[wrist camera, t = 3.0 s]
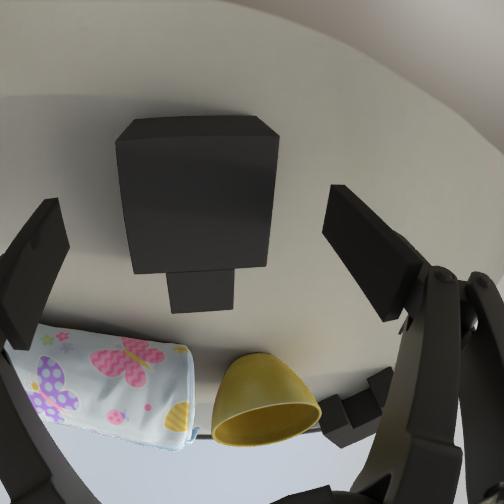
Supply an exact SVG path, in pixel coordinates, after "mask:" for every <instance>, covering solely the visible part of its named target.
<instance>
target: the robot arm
mask: <svg viewBox="0 0 504 504" xmlns="http://www.w3.org/2000/svg"><path fill="white" fill-rule="evenodd" d="M322 233H323V235H324V236H325V237H326V239H327V240H328V242H329V243H330V244H331V246H332V247H333V249H334V250H335V252H336V253H337V254H338V256H339V257H340V259H341V260H342V262H343V263H344V264H345V266H346V267H347V269H348V270H349V272H350V273H351V275H352V276H353V278H354V279H355V280H356V282H357V283H358V285H359V286H360V288H361V289H362V291H363V292H364V294H365V295H366V297H367V298H368V300H369V301H370V303H371V305H372V306H373V308H374V309H375V311H376V312H377V314H378V315H379V317H380V318H381V320H382V322H386V321H391V320H396V319H398V318H399V316H400V314H401V312H402V310H403V308H405V310H406V311H407V312H408V316H407V318H406V320H405V322H404V324H403V325H402V327H401V329H400V331H399V333H398V334H399V335H401V333H402V332H403V334H402V339H401V344H400V348H399V353H398V357H397V362H396V366H395V370H394V374H393V378H392V382H391V386H390V389H389V393H388V397H387V400H386V404H385V407H384V410H383V414H382V417H381V420H380V423H379V426H378V430H377V433H376V436H375V439H374V441H373V445H372V447H371V450H370V453H369V455H368V458H367V461H366V463H365V465H364V468H363V469H362V471H361V473H360V474H359V475H358V477H357V478H356V480H355V482H354V483H353V485H352V487H351V489H350V491H349V492H347V491H331V488H330V485H326V486H323V487H320V488H316V489H312V490H309V491H305V492H300V493H296V494H292V495H288V496H286V497H284V498H281V499H280V500H277V501H275V502H273V503H270V504H453V502H454V498H455V494H456V489H457V485H458V480H459V476H460V470H461V465H462V455H463V452H462V450H461V448H460V447H458V446H455V445H454V433H455V426H456V418H457V409H458V399H459V401H460V409H461V416H462V426H463V436H464V450H465V470H466V471H465V472H466V491H467V498H468V504H504V302H503V300H502V298H501V296H500V294H499V292H498V290H497V288H496V286H495V284H494V282H493V281H492V280H491V279H490V278H489V276H487V275H485V274H484V273H480V272H475V271H474V272H472V273H471V275H470V277H469V279H468V281H461V280H457V277H456V276H455V275H454V274H453V273H452V272H451V271H450V270H448V269H446V268H444V267H441V266H431V265H430V264H429V262H428V261H427V260H426V259H425V258H424V257H423V256H422V255H421V254H420V253H419V252H418V251H417V250H415V248H414V247H413V246H412V245H411V244H410V243H409V242H408V241H407V240H406V239H405V238H404V237H403V236H402V235H400V234H399V233H397V232H396V231H394V230H392V229H391V228H390V227H389V226H388V225H387V224H386V223H385V222H384V221H383V220H382V219H381V218H380V217H379V216H378V215H377V214H375V213H374V212H373V211H372V210H371V209H370V208H369V207H368V206H367V205H366V204H365V203H364V202H363V201H362V200H361V199H360V198H358V197H357V196H356V195H355V194H354V193H353V192H352V191H351V190H350V189H349V188H347V187H346V186H345V185H332V184H331V187H330V193H329V198H328V204H327V209H326V214H325V219H324V224H323V230H322ZM69 248H70V245H69V242H68V238H67V234H66V230H65V226H64V222H63V218H62V214H61V209H60V205H59V200H58V198H50V199H44V201H43V202H42V203H41V204H40V206H39V207H38V208H37V209H36V211H35V212H34V213H33V214H32V216H31V217H30V218H29V220H28V221H27V222H26V224H25V225H24V226H23V228H22V229H21V230H20V232H19V233H18V235H17V236H16V237H15V239H14V240H13V242H12V243H11V245H10V246H9V247H8V249H7V250H6V252H5V253H4V254H2V255H1V256H0V480H1V482H2V483H3V485H4V487H5V489H6V491H7V493H8V495H9V497H10V499H11V503H10V504H102V503H101V502H99V500H97V498H96V497H95V496H94V495H93V494H92V492H91V491H90V490H89V489H88V488H87V486H86V485H85V484H84V483H83V481H82V480H81V479H80V477H79V476H78V475H77V473H76V472H75V471H74V470H73V468H72V467H71V465H70V464H69V463H68V461H67V460H66V458H65V457H64V455H63V454H62V452H61V451H60V449H59V448H58V446H57V445H56V443H55V442H54V440H53V439H52V437H51V436H50V434H49V432H48V431H47V429H46V428H45V426H44V424H43V422H42V421H41V419H40V417H39V415H38V414H37V412H36V410H35V408H34V407H33V405H32V403H31V401H30V399H29V397H28V395H27V393H26V391H25V389H24V387H23V385H22V383H21V381H20V379H19V377H18V375H17V373H16V371H15V368H14V366H13V364H12V362H11V359H10V357H9V355H8V353H7V351H6V350H5V348H4V345H5V342H6V340H8V342H9V343H10V345H11V346H12V348H13V350H24V351H29V350H30V347H31V344H32V341H33V338H34V335H35V332H36V329H37V326H38V323H39V320H40V318H41V315H42V312H43V310H44V307H45V304H46V302H47V299H48V297H49V294H50V292H51V289H52V287H53V284H54V282H55V279H56V277H57V275H58V272H59V270H60V268H61V266H62V263H63V261H64V259H65V257H66V255H67V253H68V250H69ZM477 320H478V326H477V329H476V330H475V327H474V325H475V323H476V322H477Z"/></svg>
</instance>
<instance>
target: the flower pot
mask: <svg viewBox="0 0 504 504" xmlns="http://www.w3.org/2000/svg"><path fill="white" fill-rule="evenodd" d="M321 414H322V412H321V409H320V407H319V405H318V403H317V401H316V400H315V398H314V396H313V395H312V393H311V392H310V391H309V389H308V388H307V386H306V385H305V384H304V383H303V381H302V380H301V379H300V378H299V377H298V376H297V375H296V374H295V373H294V372H293V371H292V370H291V369H290V368H289V367H288V366H287V365H285V364H284V363H283V362H281V361H280V360H279V359H277V358H276V357H274V356H272V355H270V354H265V353H254V354H249V355H245V356H243V357H240V358H238V359H237V360H235V361H234V362H233V363H232V364H231V365H230V367H229V368H228V370H227V372H226V373H225V375H224V377H223V379H222V382H221V384H220V387H219V389H218V392H217V396H216V399H215V403H214V408H213V415H212V427H211V433H212V437H213V439H214V440H215V441H217V442H219V443H221V444H224V445H228V446H236V447H251V446H261V445H268V444H272V443H276V442H280V441H284V440H287V439H289V438H292V437H294V436H297V435H299V434H301V433H303V432H305V431H306V430H308V429H310V428H311V427H312V426H313V425H315V424H316V423H317V422H318V420H319V419H320V417H321Z"/></svg>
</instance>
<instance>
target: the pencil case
mask: <svg viewBox="0 0 504 504" xmlns="http://www.w3.org/2000/svg"><path fill="white" fill-rule="evenodd" d="M4 348H5V350H6V351H7V353H8V355H9V357H10V359H11V362H12V364H13V366H14V368H15V371H16V373H17V375H18V377H19V379H20V381H21V383H22V385H23V387H24V389H25V391H26V393H27V395H28V397H29V399H30V401H31V403H32V405H33V407H34V408H35V410H36V412H37V414H38V415H39V417H40V419H41V421H48V422H55V423H60V424H65V425H69V426H73V427H77V428H80V429H84V430H88V431H91V432H95V433H99V434H103V435H108V436H111V437H115V438H119V439H123V440H126V441H129V442H133V443H136V444H139V445H143V446H148V447H155V448H160V449H165V450H170V451H179V450H181V449H182V448H183V446H184V445H189V444H191V443H192V442H193V441H194V440H195V438H196V436H197V434H198V431H199V430H200V427H196V428H195V429H194V430H193V422H194V415H195V379H194V363H193V357H192V354H191V352H190V350H188V348H187V346H186V345H179V344H174V343H159V342H154V341H146V340H139V339H133V338H128V337H119V336H112V335H106V334H100V333H94V332H88V331H82V330H74V329H67V328H57V327H51V326H47V325H43V324H39V323H38V326H37V329H36V332H35V335H34V338H33V341H32V344H31V347H30V350H29V351H24V350H13V348H12V346H11V345H10V343H9V342H8V340H6V342H5V345H4Z"/></svg>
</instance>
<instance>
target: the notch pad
mask: <svg viewBox="0 0 504 504" xmlns="http://www.w3.org/2000/svg"><path fill="white" fill-rule="evenodd" d="M393 374H394V372H393V370H392V368H391V367H389V368H387V369H385V370H383V371H381V372H380V373H378V374H376V375H374V376H372V377H370V378H368V379H367V380H368V383H369V386H370V388H368V389H366V390H364V391H362V392H360V393H358V394H356V395H354V396H352V397H350V398H348V399H346V400H344V401H341V399H340V398H339V397H338V395H337V394H336V395H334V396H332V397H330V398H327V399H325V400H323V401H321V402H318V405H319V407H320V409H321V412H322V414H321V417H320V419H319V420H318V422H319V424H320V427H321V430H322V433H323V435H324V436H325V437H327V438H328V439H329V440H330V441H332V442H333V443H334V444H336V445H337V446H338V447H339V448H344V447H346V446H348V445H350V444H353V443H355V442H357V441H360V440H362V439H364V438H366V437H368V436H370V435H372V434H374V433H377V430H378V426H379V423H380V420H381V417H382V414H383V410H384V407H385V404H386V400H387V397H388V393H389V389H390V386H391V382H392V378H393Z"/></svg>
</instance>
